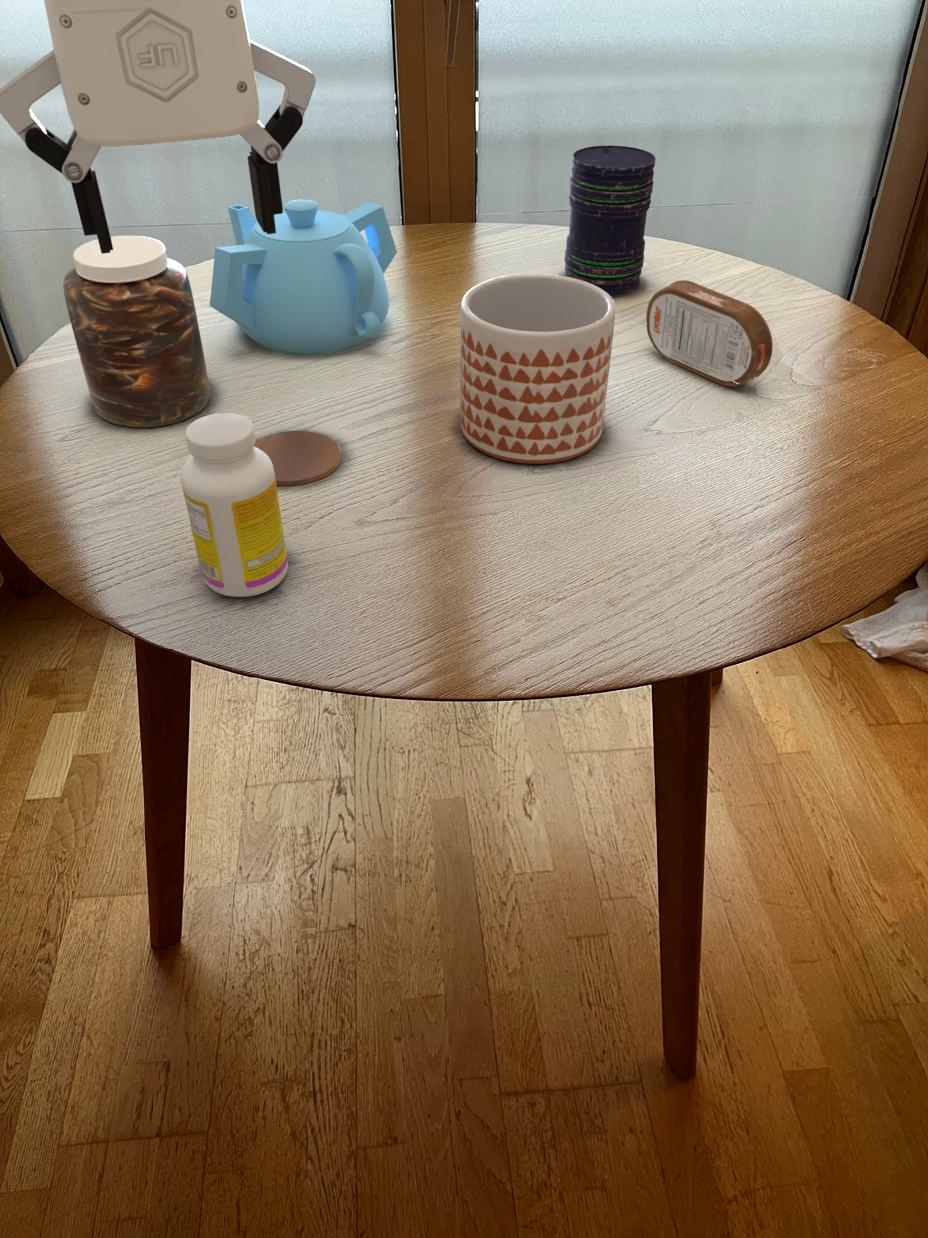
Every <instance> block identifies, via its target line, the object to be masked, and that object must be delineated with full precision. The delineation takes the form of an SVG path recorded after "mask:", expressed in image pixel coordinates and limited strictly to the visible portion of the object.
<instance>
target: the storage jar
mask: <svg viewBox="0 0 928 1238" xmlns="http://www.w3.org/2000/svg"><path fill="white" fill-rule="evenodd" d="M572 165H573V166H571V177H570V181H569V190H570V192H569V196H568V199H569V206H570V215H569V217H570V218H569V230H568V231H569V233H568V235H567V236H566V244H565V245H566V246H565V250H564V271H565V274H564V275H563V276H565V277H570V278H574V279H578V280H582V281H585V282H588V283H590V284H593V285H595V286H597V287H599V288H601V289H602V290H604V291H605V292H606V293H608V294H609V295H610V296H611V298H619V297H625V296H628V295H631V294H633V293H635V292H636V291H638V290H639V288H640V286H641V278H640V277H641V274H642V268H643V267H644V261H645V246H646V240H645V231H646V222H647V216H648V211H649V210H650V207H651V204H652V200H651V199H652V194H653V189H654V175H655V171H654V169H655V167H656V166H655V165H656V156H655V155H654V153H651V152H650V151H647V150H644V149H643V148H642V149H641V148H637V147H632V146H624V145H593V146H587V147H583V148H580V149H578V150H576V151H574V152H573V154H572Z"/></svg>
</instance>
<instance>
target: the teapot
mask: <svg viewBox="0 0 928 1238" xmlns="http://www.w3.org/2000/svg"><path fill="white" fill-rule="evenodd" d="M318 206H319V203H317V202H316V201H314V200H311V199H304V198H301V199H292V200H290V201H287V202H285V203H284V204H283V209H284V211H283V213H282V214H275V215H274V219H275V227H276V233H275V234H267V233H266V232H263V230H262V228H261V227H260V225H259V223H258V221H257V220H256V218H255V217H254V216H253V214H252V213H251V211H250V208H249V207H248V206H246V205H243V204H240V203H238V204H234V205H230V206H227V210H228V214H229V219H230V222H231V226H232V230H233V235H234V239H235V242H236V245H228V246H227V245H226V246H216V247H215V248H214V256H213V257H214V258H213V268H212V278H211V279H212V280H211V287H210V288H211V289H210V298H209V307H211V308H212V309H214V310H216V311H217V312H219V313H220V314H222V315H223V316H225V317H227V318H228V319H229V320H232V322H235V324H236V325H237V326H238V328H239V329H240V330H241V331H242V332H243V333H245V334H246V335H247V336H248V337H249V338H250V339H251V340H253V341H254V342H255V343H257V344H258V345H259V346H262V347H264V348H265V349H269V350H271V351H275V352H280V353H284V354H295V355H318V354H327V353H328V354H329V353H334V352H339V351H342V350H346V349H349V348H351V347H355V346H357V345H359V344H361V343H362V342H365V341H366V340H367V339H374V338H375V337H377V336H378V335H379V334H380V333H381V331H382V330H381V329H382V323H383V322H384V320H385V319H386V317H387V315H388V312H389V308H390V299H389V298H390V297H389V291H388V290H389V289H388V286H387V281H386V279H385V275H384V274H385V273H386V271H387V269H388V267H389V266H390V265H391V263H392V261H393V260H394V258H395V257H396V255H397V253H398V250H397V247H396V244H395V240H394V237H393V235H392V231H391V228H390V225H389V222H388V218H387V216H386V213H385V210H384V207H383V205H380V204H377V203H375V202H372V201H367V202H366V203H363V204H362V205H360V206H358V207H355V208H354V209H352V210H350V211H348V212H346V213H344V214H340V213H338V212H333V211H330V210H329V211H328V210H323V209H318ZM362 231H364V235H365V238H366V239H365V238H364V237H363V235H362V234H361V232H362Z"/></svg>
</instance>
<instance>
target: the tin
mask: <svg viewBox="0 0 928 1238" xmlns="http://www.w3.org/2000/svg"><path fill="white" fill-rule="evenodd" d="M645 319H646V320H645V321H646V332H647V335H648V338H649V341H650V343H651V345H652V347H653V348H654V349H655V351H656V352H657V353H658V355H660V356H661V357H662V358H664V359H665V360H667V361H668V362H671V363H673V364H675V365H677V366H679V367H682V368H684V369H686V370H688V371H690V372H693V373H695V374H696V375H699V376H702V377H703V378H706V379H707V380H710V381H712V382H714V383H716V384H718V385H721V386H725V387H737V386H741V385H742V384H741V383H743V384H745V383H747V382H749V381H751V380H754V379H755V378H754V377H756V378H758V377H760V376H761V375H762V374H763V373H764V372H765V371H766V369H768V367H769V364H770V362H771V360H772V356H773V348H774V347H773V338H772V332H771V330H770V326H769V325H768V323H767V321H766V319H765V318H764V316H763V315H762V314H761V313H760V312H759V311H758V309H756V308H755V307H754V306H753V305H750V304H749V303H746V302H744V301H742V300H739V299H736V298H734V297H731V296H729V295H726V294H723V293H721V292H718V291H716V290H714V289H711V288H709V287H706V286H703V285H701V284H699V283H696V282H693V281H691V280H685V279H684V280H683V279H682V280H676V281H674V282H672V283H670V284H669V285H668V286H666V287H663V288H661V289H659V290H658V291H657V292H656V293H654V294H653V296H651V298H650V299H649V301H648V305H647V309H646V318H645ZM699 366H700V367H699ZM706 369H707V370H706ZM713 372H714V373H713ZM716 373H717V374H716ZM718 374H720V375H718ZM721 375H722V376H721ZM723 376H725V377H728V378H730V379H731V380H734V381H735V382H737V383H740V384H736V383H734V382H733V381H731V380H729V379H727V378H725V377H723Z"/></svg>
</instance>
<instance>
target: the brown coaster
mask: <svg viewBox="0 0 928 1238" xmlns="http://www.w3.org/2000/svg"><path fill="white" fill-rule="evenodd" d="M254 447H256V448H258V449H260V450H262V451H263V452H264V453H265V454H266V455H267V456H268V457H269V458H270V460H271V462H272V464H273V468H274V473H275V479H276V486H299V485H305V484H310V483H313V482H316V481H318V480H322V479H324V478H326V477H327V476H329V475H330V474H331V475H332V473H333V472H334V471H335V470H336V469H337V468H338V467H339V466H340V464H341V462H342V449H341V446H340V445H339V444H338V442H336V441H335V440H334V439H333V438H332V437H329V436H328V435H325V434H323V433H319V432H315V431H309V430H287V431H279V432H276V433H272V434H268V435H266V436H263V437H261V438H259V439H257V440H256V441H255V445H254Z"/></svg>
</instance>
